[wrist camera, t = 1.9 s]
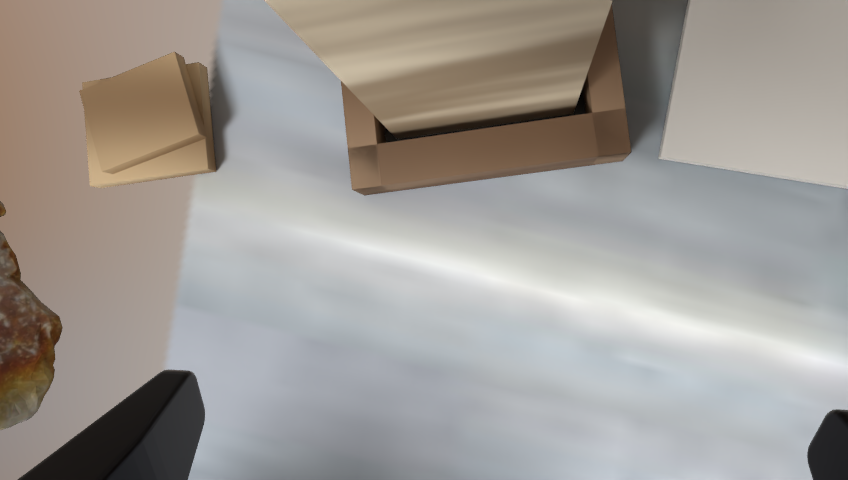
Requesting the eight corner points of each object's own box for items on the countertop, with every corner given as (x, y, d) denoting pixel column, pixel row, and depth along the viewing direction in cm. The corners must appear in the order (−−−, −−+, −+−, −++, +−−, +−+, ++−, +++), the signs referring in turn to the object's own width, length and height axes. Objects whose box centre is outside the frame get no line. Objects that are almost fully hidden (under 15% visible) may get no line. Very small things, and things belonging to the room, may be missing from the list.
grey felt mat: (887, 195, 19) (895, 193, 19) (658, 158, 20) (661, 156, 20) (927, -22, 19) (936, -28, 19) (696, -46, 20) (700, -52, 20)
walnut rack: (622, 161, 20) (631, 151, 19) (364, 195, 22) (351, 189, 20) (595, -45, 21) (601, -71, 19) (344, 1, 22) (330, -19, 21)
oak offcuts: (218, 171, 23) (201, 165, 21) (101, 188, 23) (78, 183, 22) (208, 59, 23) (191, 48, 22) (92, 80, 24) (70, 70, 22)
